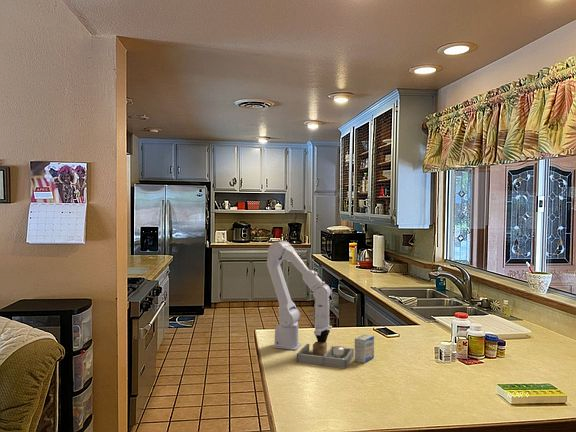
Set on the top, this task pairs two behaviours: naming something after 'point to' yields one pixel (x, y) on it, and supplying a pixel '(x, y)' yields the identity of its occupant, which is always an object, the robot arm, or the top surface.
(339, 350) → the silver metal cylinder
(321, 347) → the block
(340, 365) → the housing
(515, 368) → the top surface
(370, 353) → the medicine box
